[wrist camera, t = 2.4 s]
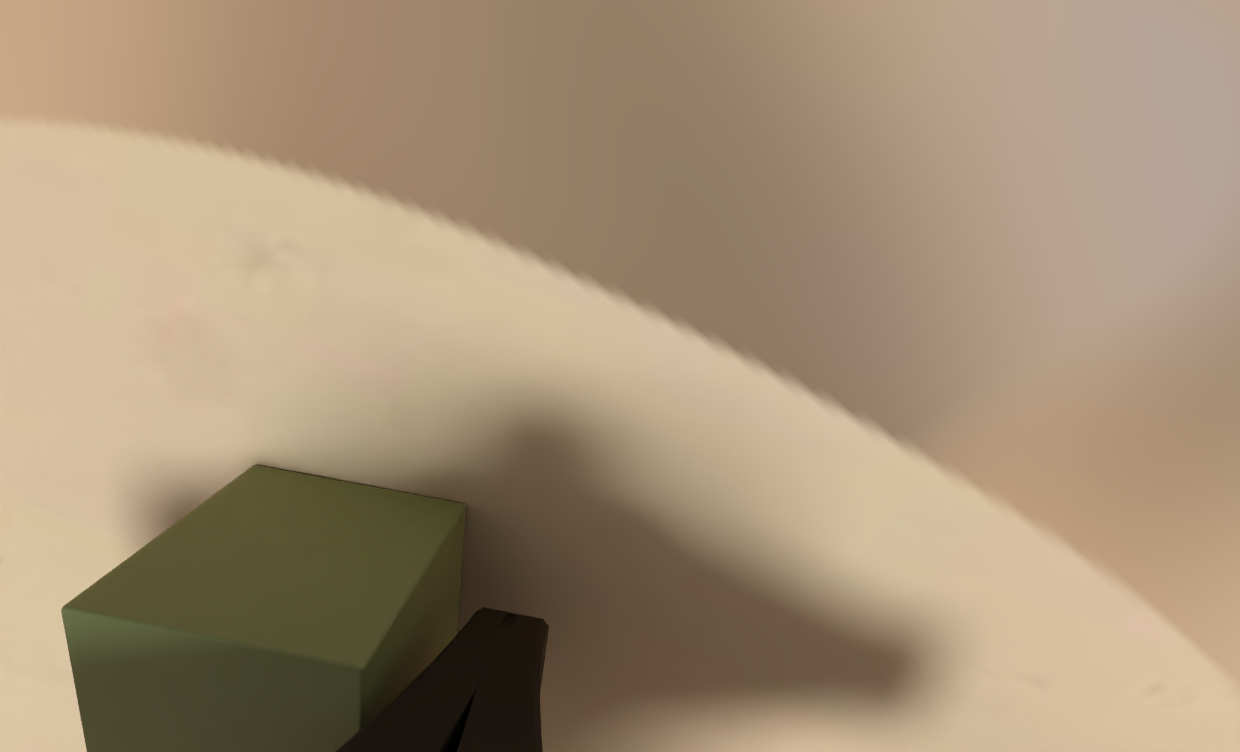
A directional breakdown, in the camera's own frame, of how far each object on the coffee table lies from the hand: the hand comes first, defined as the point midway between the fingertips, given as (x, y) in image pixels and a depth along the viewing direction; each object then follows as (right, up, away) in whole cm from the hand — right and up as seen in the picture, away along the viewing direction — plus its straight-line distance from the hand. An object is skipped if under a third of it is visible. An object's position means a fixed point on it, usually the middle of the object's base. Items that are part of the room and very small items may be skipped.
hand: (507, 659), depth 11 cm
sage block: (-3, +1, +2) cm, 4 cm away
